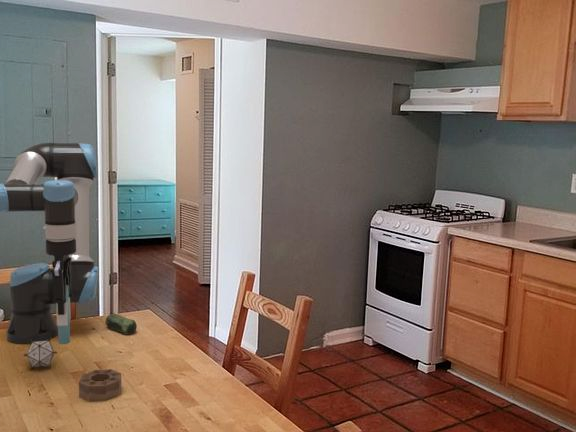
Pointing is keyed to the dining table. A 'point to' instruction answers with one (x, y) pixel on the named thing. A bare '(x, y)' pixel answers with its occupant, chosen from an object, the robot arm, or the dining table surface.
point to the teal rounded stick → (65, 330)
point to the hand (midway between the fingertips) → (63, 322)
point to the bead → (100, 385)
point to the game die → (40, 353)
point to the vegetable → (121, 324)
